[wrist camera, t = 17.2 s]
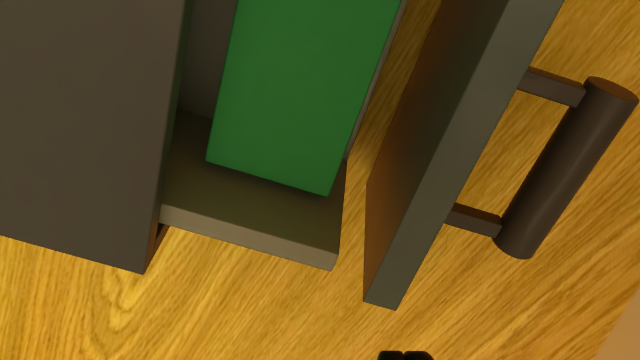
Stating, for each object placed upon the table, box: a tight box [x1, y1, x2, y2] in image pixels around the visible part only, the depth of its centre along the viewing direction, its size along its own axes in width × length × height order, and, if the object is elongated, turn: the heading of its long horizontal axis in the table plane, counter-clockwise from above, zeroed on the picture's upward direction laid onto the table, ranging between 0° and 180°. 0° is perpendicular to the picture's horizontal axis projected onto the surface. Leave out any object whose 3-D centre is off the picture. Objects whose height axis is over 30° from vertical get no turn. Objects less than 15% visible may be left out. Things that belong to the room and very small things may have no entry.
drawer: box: [158, 0, 639, 311], centre depth 18 cm, size 16×11×7 cm
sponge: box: [205, 0, 402, 197], centre depth 18 cm, size 7×4×4 cm, turn 163°
